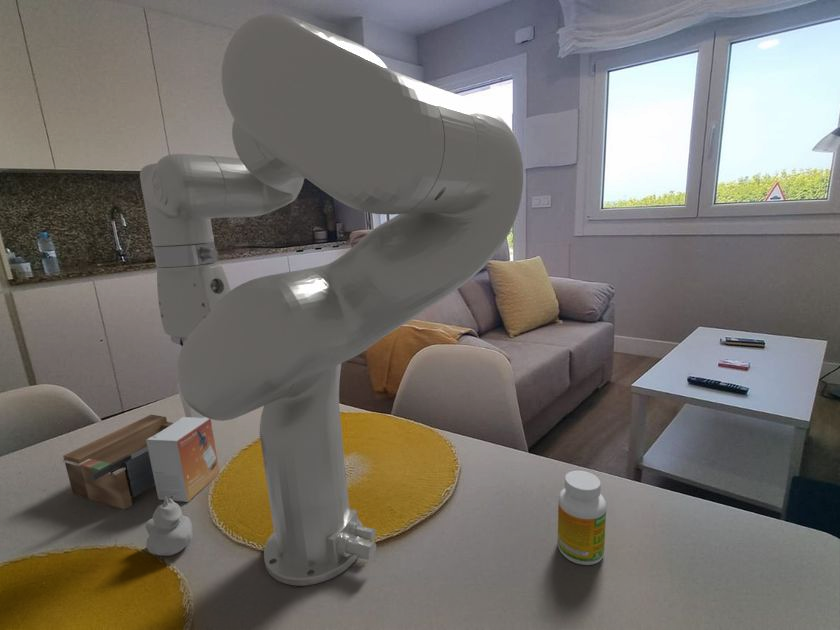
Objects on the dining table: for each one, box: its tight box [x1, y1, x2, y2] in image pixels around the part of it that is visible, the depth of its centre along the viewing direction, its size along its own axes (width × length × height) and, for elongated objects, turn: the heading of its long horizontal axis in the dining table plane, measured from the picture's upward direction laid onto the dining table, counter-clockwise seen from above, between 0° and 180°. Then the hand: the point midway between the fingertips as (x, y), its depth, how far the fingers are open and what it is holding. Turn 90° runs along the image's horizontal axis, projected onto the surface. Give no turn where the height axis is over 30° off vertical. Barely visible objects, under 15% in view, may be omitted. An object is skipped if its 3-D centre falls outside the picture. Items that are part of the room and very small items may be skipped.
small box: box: [146, 416, 220, 503], centre depth 70 cm, size 8×6×10 cm
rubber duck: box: [144, 497, 193, 557], centre depth 57 cm, size 5×7×8 cm
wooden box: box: [62, 414, 174, 510], centre depth 74 cm, size 12×16×7 cm
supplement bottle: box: [557, 470, 607, 566], centre depth 52 cm, size 5×5×10 cm
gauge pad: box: [90, 447, 155, 498], centre depth 70 cm, size 3×16×6 cm, turn 158°
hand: (208, 382), depth 64 cm, fingers closed
